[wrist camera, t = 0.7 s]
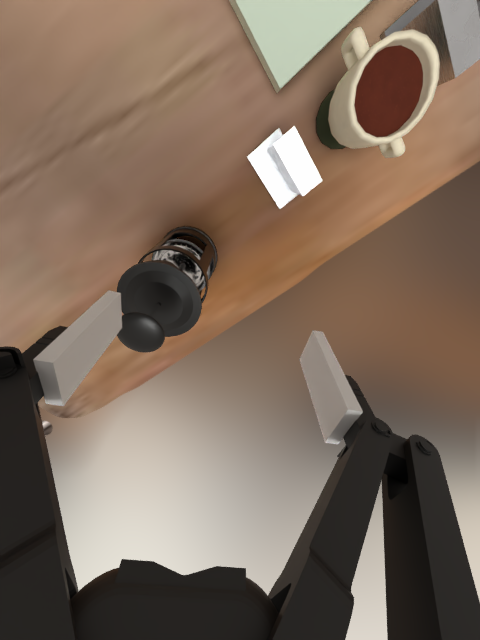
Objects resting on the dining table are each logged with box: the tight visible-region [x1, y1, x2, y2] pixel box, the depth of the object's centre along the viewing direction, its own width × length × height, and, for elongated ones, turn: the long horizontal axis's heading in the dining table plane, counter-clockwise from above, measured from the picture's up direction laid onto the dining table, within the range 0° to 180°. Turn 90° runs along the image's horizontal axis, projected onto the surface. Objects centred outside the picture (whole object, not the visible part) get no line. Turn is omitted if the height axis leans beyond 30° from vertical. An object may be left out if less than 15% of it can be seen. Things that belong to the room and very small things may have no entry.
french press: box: [117, 226, 217, 352], centre depth 31 cm, size 12×9×23 cm
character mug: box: [316, 27, 440, 158], centre depth 25 cm, size 11×7×13 cm, turn 38°
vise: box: [247, 0, 480, 209], centre depth 27 cm, size 8×25×9 cm, turn 128°
